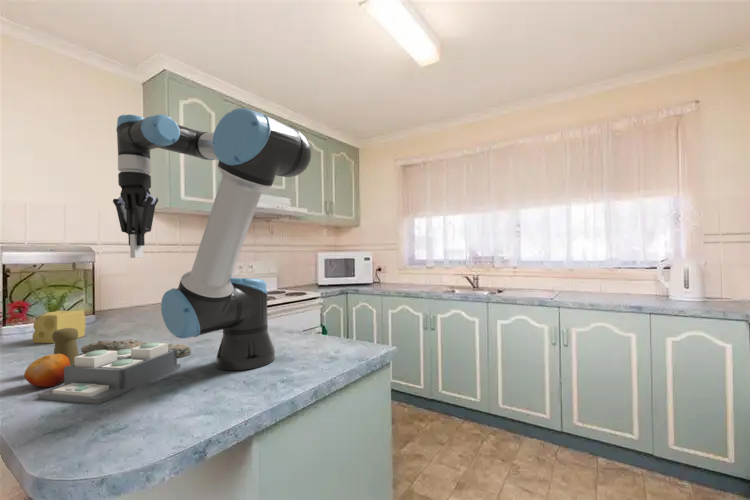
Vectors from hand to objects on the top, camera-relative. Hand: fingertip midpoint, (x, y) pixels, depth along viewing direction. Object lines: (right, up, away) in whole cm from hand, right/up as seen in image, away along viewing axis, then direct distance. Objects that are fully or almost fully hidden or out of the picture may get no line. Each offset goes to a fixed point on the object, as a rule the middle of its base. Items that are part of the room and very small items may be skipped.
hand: (137, 257), depth 97 cm
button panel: (+5, -29, -14) cm, 33 cm away
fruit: (-11, -30, -15) cm, 35 cm away
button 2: (+8, -27, -17) cm, 33 cm away
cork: (-16, -30, -5) cm, 34 cm away
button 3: (+2, -27, -8) cm, 28 cm away
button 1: (+1, -25, -15) cm, 30 cm away
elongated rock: (-6, -30, +8) cm, 32 cm away
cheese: (-48, -31, +30) cm, 64 cm away
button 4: (+10, -25, -9) cm, 29 cm away
